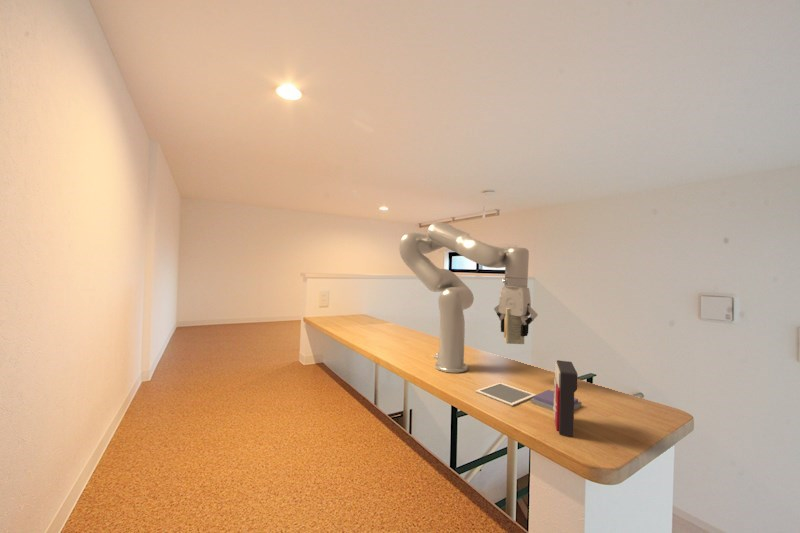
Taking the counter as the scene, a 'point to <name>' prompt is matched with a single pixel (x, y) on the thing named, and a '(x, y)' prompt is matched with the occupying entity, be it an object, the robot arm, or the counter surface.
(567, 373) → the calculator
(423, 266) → the robot arm
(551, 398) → the ink pad
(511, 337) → the skincare box
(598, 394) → the counter surface
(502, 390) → the white picture frame
